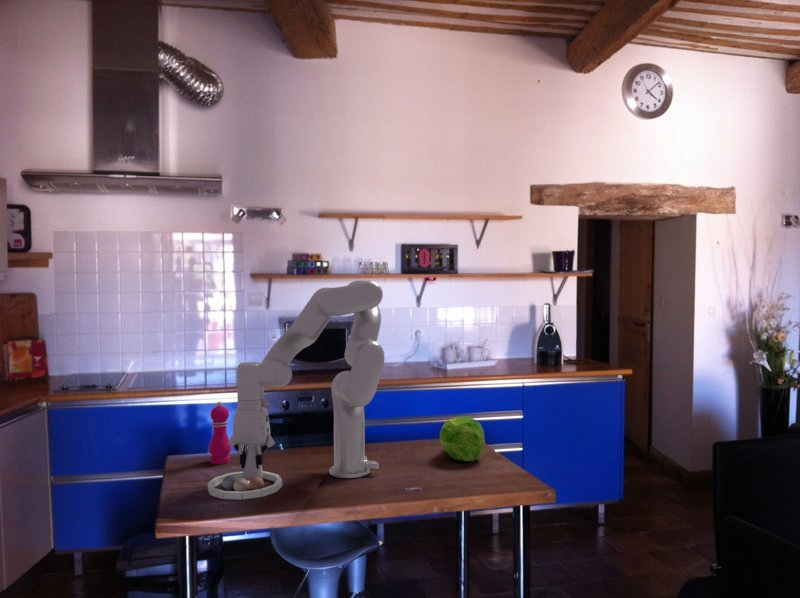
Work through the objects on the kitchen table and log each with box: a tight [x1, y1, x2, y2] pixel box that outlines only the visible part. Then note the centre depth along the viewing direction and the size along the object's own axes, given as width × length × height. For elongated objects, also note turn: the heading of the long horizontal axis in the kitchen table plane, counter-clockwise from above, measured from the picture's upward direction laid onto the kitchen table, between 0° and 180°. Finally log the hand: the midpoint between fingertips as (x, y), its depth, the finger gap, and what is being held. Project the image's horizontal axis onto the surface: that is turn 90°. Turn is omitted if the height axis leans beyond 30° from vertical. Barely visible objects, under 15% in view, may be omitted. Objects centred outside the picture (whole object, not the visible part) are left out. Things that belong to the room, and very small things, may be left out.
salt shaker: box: [242, 444, 264, 480], centre depth 189 cm, size 6×6×13 cm
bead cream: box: [233, 478, 248, 492], centre depth 181 cm, size 4×4×4 cm
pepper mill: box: [208, 401, 233, 465], centre depth 215 cm, size 7×7×20 cm
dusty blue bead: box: [221, 475, 237, 491], centre depth 183 cm, size 4×4×4 cm
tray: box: [207, 470, 283, 500], centre depth 184 cm, size 20×20×3 cm
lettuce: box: [439, 416, 486, 462], centre depth 220 cm, size 15×22×15 cm
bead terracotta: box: [249, 476, 265, 490], centre depth 182 cm, size 4×4×4 cm
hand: (251, 466), depth 189 cm, fingers open, 3 cm apart
